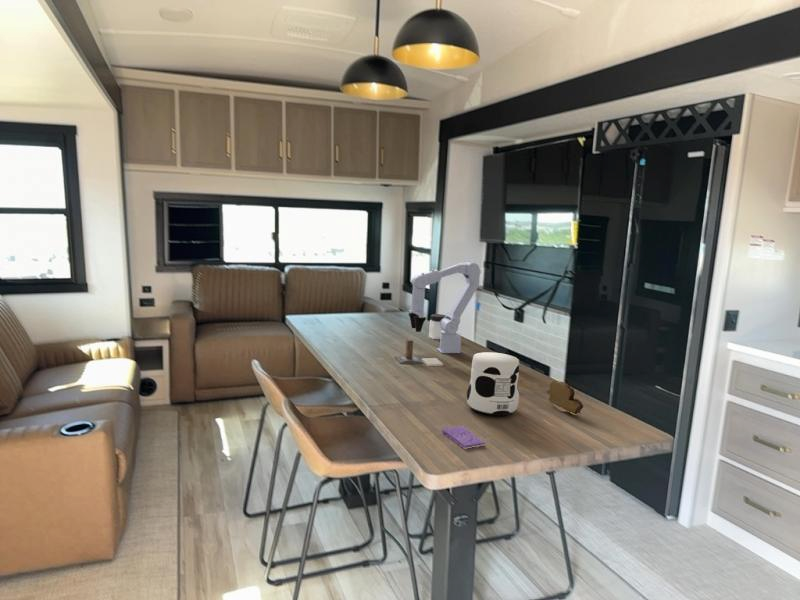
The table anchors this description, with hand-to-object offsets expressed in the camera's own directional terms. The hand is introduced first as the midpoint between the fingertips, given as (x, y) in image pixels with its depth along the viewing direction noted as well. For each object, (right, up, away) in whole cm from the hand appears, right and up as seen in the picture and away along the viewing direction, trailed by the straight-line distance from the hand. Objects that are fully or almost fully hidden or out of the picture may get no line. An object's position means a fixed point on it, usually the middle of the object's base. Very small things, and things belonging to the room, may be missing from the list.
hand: (416, 329), depth 249 cm
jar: (+12, -6, +33) cm, 36 cm away
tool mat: (-4, -13, -14) cm, 20 cm away
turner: (-3, -12, -16) cm, 20 cm away
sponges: (+11, -27, -95) cm, 99 cm away
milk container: (+23, -23, -70) cm, 77 cm away
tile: (+5, -13, -12) cm, 18 cm away
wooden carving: (+48, -24, -66) cm, 86 cm away
